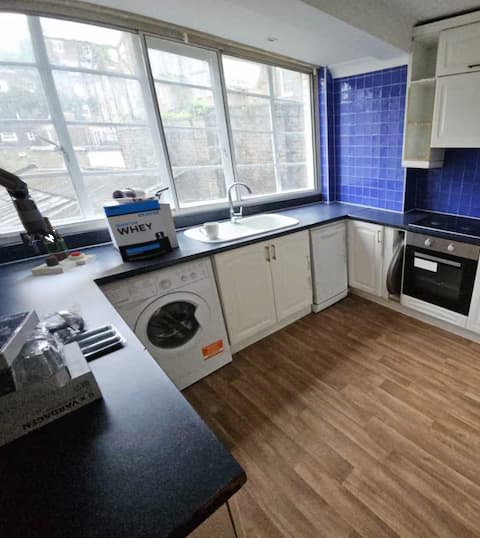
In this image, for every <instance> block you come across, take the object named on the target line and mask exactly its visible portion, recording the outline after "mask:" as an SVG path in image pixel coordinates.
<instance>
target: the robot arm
mask: <svg viewBox="0 0 480 538" xmlns="http://www.w3.org/2000/svg"><path fill="white" fill-rule="evenodd" d="M0 186H1V187H3V188H5V190H6V192H7V194H8V195H9V197H10V199H11V202H12V205H13V206H14V209H15V211H16V213H17V217H18V218H19V220H20V223H21V225H22V226H23V229H24V230H25V231H22V232H19V237H20V239H21V241H22V244H23V245H24V246H30V249H31V250H32V252H33V253H35V254H36V253H39V252H40V248H39V246H38V245H37V241H43V240H46V241H49V242H50V243H52V246H53V248H54V251H58V250H59V249H60V247H59V245H58V242H60V241H61V238H60V236H59V234H60V233H59V232H58V231H57V229H54V230H51V231H49V230H48V229H47V225H46V223H45V221H44V219H43V217H44V216H43V214H42V212H41V210H40V209H39V207H38V205H37V203H36V201H35V199H34V198H33V196H32V194H31V193H30V190H29V188H28V183H27V181H26V180H25V179H24V178H23V177H20V176H19V175H16V174H15V173H13V172H10V171H8V170H6V169H4V168H3V167H0ZM58 233H59V234H58ZM49 234H50V235H49ZM51 235H52V236H51ZM48 237H49V238H48Z"/></svg>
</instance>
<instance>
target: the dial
mask: <svg viewBox="0 0 480 538" xmlns="http://www.w3.org/2000/svg"><path fill="white" fill-rule="evenodd" d="M43 260H44V262H45V263H46V264H47V266H48V267H51V266H56V265H59V262H60V261H58V260H57V257H56V256H51V257H50V256H47V257H44V258H43Z"/></svg>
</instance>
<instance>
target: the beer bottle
mask: <svg viewBox="0 0 480 538" xmlns="http://www.w3.org/2000/svg"><path fill="white" fill-rule="evenodd" d="M43 219H44V221H45V223H46V225H47V229H48V230H49V231H51V230H55V228H54V227H53V225H52V223H51V221H50V220H49V217H48V216H43ZM58 234H59V236H60V238H61V241H60V242H58V245H59V247H60V249H59V250H58V251H54V248H53V246H52V243H50V242H49V241H46V240H42V241H43V244H44V246H45V248H46V250H47V253H48V255H49V257H51V256H56V257H57V260H58V262H61V261H63V260H65V259H67V258H68V256H70V255H71V253H70V252H69V249H68V247H67V245H66V242H65V240H64V238H63V236H62V235H61V234H60V233H59V232H58ZM49 235H50V234H49ZM51 236H52V235H51ZM48 238H49V237H48Z"/></svg>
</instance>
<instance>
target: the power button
mask: <svg viewBox="0 0 480 538" xmlns="http://www.w3.org/2000/svg"><path fill="white" fill-rule="evenodd" d="M80 253H81V252H80V251H73V252H71V253H70V255H72V257H75V256H79V255H81V254H80Z"/></svg>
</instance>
